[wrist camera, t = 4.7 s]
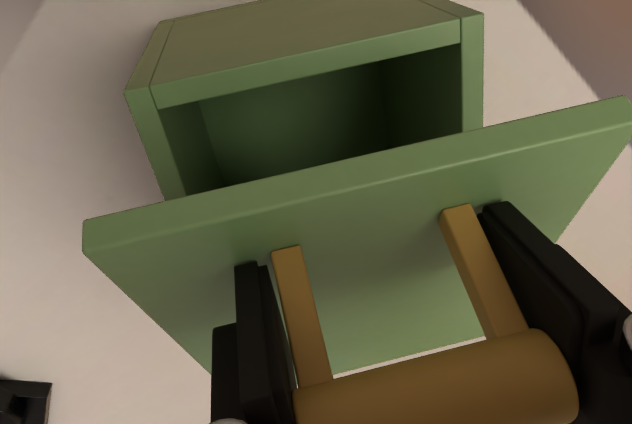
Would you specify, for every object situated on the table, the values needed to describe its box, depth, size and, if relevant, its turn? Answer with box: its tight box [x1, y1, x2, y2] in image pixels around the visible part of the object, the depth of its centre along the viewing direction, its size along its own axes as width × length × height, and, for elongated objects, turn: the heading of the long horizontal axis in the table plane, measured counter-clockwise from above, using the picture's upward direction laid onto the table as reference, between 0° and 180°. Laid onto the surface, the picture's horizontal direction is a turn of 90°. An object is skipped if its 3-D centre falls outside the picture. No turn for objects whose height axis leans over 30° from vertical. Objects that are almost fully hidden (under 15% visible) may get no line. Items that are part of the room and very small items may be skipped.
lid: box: [82, 95, 632, 424], centre depth 15 cm, size 14×12×6 cm
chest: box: [123, 0, 484, 201], centre depth 24 cm, size 14×12×12 cm
